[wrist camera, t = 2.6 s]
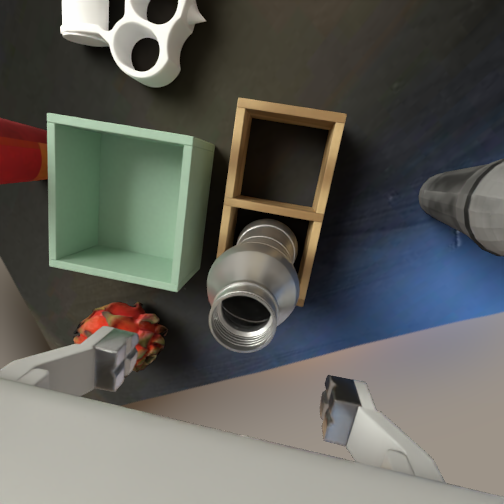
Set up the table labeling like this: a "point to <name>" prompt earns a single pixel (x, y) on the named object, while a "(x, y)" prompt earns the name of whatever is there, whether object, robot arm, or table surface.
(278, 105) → the rack
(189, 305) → the table surface
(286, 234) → the silver metal bottle
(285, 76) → the table surface
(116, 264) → the open storage box
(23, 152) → the paper cup
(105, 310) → the dragon fruit
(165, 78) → the knuckle duster
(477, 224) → the beverage cup
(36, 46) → the table surface
